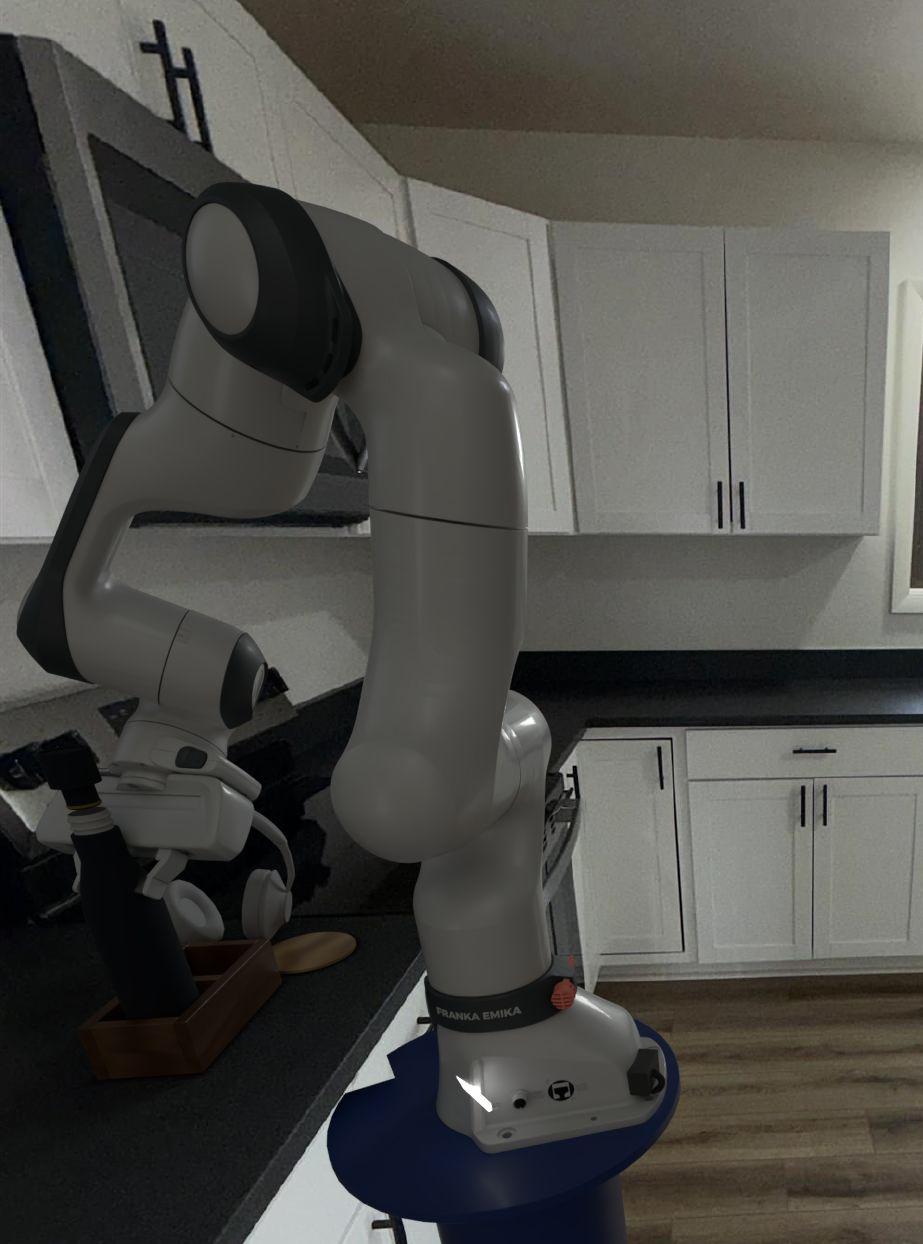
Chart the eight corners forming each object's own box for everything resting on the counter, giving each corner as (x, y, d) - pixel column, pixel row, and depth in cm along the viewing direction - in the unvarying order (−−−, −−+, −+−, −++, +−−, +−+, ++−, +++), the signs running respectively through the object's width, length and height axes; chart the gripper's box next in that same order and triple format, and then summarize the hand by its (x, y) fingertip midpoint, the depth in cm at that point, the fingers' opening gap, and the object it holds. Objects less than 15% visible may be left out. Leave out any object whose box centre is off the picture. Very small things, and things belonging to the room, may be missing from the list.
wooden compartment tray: (282, 982, 103) (269, 938, 101) (203, 1073, 86) (185, 1022, 84) (195, 987, 102) (180, 942, 99) (97, 1080, 85) (76, 1029, 83)
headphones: (137, 970, 106) (81, 816, 98) (163, 939, 114) (112, 794, 106) (305, 949, 111) (265, 801, 103) (318, 920, 119) (282, 781, 111)
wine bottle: (134, 1056, 85) (11, 762, 73) (137, 1028, 90) (22, 748, 78) (210, 1035, 88) (104, 750, 76) (208, 1009, 93) (109, 737, 81)
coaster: (368, 932, 116) (367, 929, 115) (337, 971, 106) (337, 968, 105) (282, 936, 114) (281, 934, 114) (243, 976, 104) (242, 973, 104)
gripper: (48, 751, 85) (-10, 878, 81) (232, 755, 83) (183, 888, 78) (103, 781, 91) (52, 902, 86) (276, 787, 88) (234, 912, 84)
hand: (116, 895), depth 82 cm, fingers closed on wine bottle, 5 cm apart
